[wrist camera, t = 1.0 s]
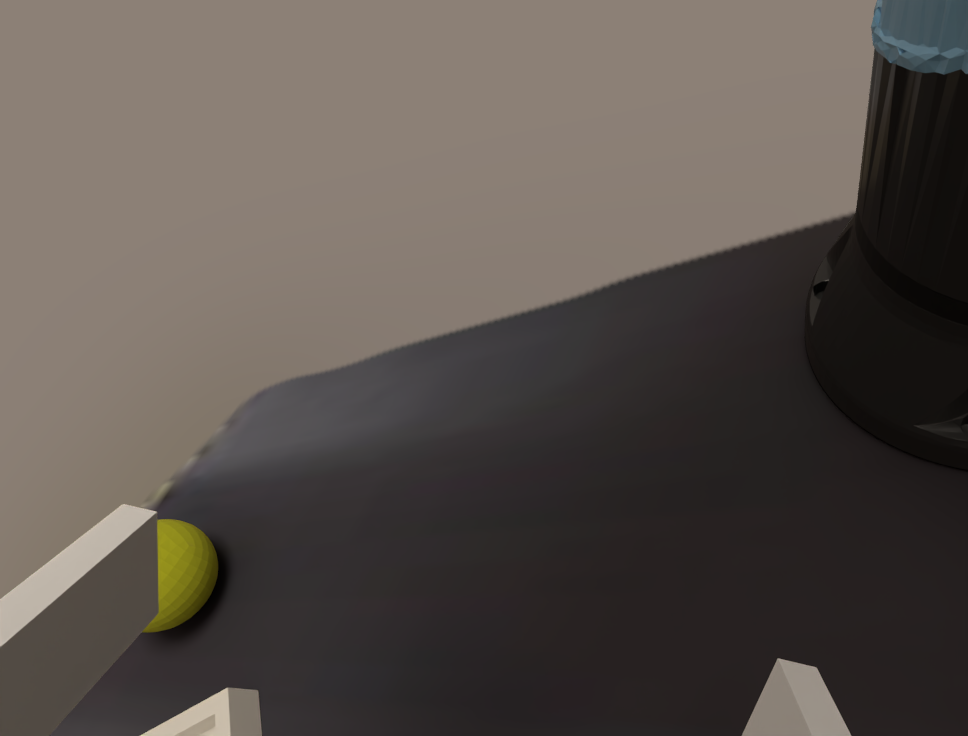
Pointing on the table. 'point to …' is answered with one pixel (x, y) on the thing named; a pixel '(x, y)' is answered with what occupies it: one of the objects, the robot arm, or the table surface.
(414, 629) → the table surface
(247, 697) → the square tray
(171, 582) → the ornament
